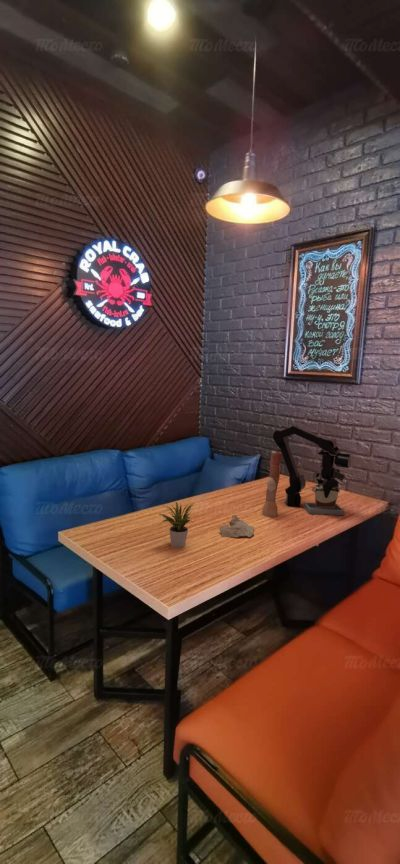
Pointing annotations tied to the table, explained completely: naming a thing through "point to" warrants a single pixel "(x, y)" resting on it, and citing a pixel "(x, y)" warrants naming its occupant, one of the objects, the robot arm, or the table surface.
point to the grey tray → (323, 510)
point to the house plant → (178, 525)
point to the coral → (236, 529)
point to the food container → (320, 497)
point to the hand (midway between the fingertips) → (324, 496)
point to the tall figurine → (272, 486)
